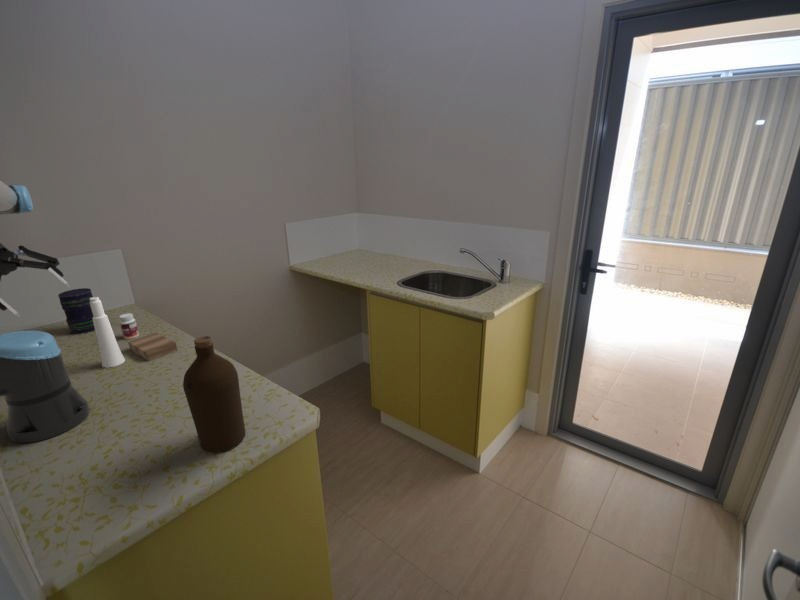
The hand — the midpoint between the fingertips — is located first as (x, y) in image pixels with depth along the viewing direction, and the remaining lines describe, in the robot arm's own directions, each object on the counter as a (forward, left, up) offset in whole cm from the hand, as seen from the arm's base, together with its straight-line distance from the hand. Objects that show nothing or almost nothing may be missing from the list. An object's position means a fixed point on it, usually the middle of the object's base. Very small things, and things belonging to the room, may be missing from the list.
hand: (44, 299), depth 113 cm
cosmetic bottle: (-6, -10, -23) cm, 26 cm away
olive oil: (-69, -10, -23) cm, 74 cm away
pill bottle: (+12, -22, -23) cm, 34 cm away
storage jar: (+35, -15, -23) cm, 44 cm away
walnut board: (-7, -21, -23) cm, 32 cm away
